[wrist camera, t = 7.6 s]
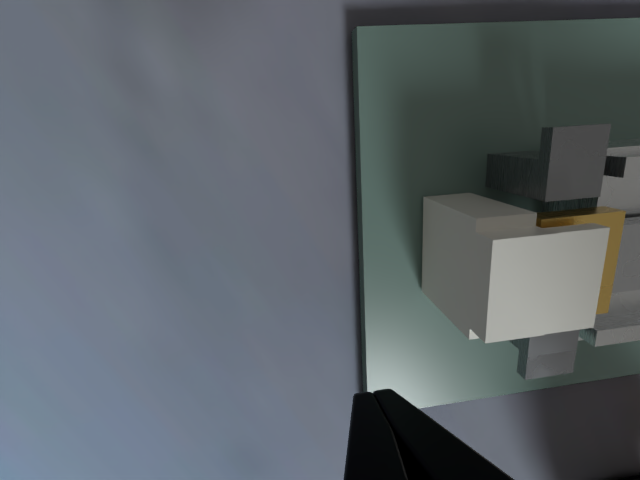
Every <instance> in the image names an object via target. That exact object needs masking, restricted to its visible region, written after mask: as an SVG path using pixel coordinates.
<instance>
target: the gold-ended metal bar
mask: <svg viewBox="0 0 640 480" xmlns="http://www.w3.org/2000/svg"><path fill="white" fill-rule="evenodd" d="M625 214H626V211H624V210H620V209H615V208H610V207H606V206H599V207H589V208H579V209H569V210H559V211H549V212H539V213H537V218H536V226H537V227H540V228H549V227H559V226H568V225H578V224H588V223H596V224H599V225H603V226H607V227H610V231H609V237H608V243H607V250H606V256H605V262H604V268H603V274H602V280H601V286H600V292H599V298H598V304H597V310H596V314H604V313H608V311H609V305H610V299H611V294H612V293H617V292H624V291H632V290H639V289H640V217H630V218H625Z"/></svg>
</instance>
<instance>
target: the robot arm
mask: <svg viewBox="0 0 640 480" xmlns="http://www.w3.org/2000/svg"><path fill="white" fill-rule="evenodd" d="M344 480H514V479H513V478H511V477H510V476H509V475H507V474H506V473H505V472H503V471H502V470H501V469H499V468H498V467H496V466H495V465H494V464H492V463H491V462H490V461H488V460H487V459H486V458H484V457H483V456H482V455H480V454H479V453H478V452H476V451H475V450H473V449H472V448H471V447H469V446H468V445H467V444H465V443H464V442H463V441H461V440H460V439H459V438H457V437H456V436H455V435H453V434H452V433H450V432H449V431H448V430H446V429H445V428H444V427H442V426H441V425H440V424H438V423H437V422H436V421H434V420H433V419H432V418H430V417H429V416H428V415H426V414H425V413H423V412H422V411H421V410H419V409H418V408H417V407H415V406H414V405H413V404H411V403H410V402H409V401H407V400H406V399H405V398H403V397H402V396H400V395H399V394H398V393H396V392H395V391H394V390H392V389H382V390H376V391H374V392H373V393H372V392H362V393H356V394H354V396H353V404H352V413H351V421H350V430H349V438H348V447H347V456H346V464H345V473H344ZM619 480H640V476H635V477H630V478H625V479H619Z"/></svg>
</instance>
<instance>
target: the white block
mask: <svg viewBox="0 0 640 480" xmlns="http://www.w3.org/2000/svg"><path fill="white" fill-rule="evenodd" d="M536 218H537V213H536V212H532V211H529V210H526V209H523V208H519V207H516V206H513V205H509V204H506V203H503V202H499V201H496V200H493V199H489V198H486V197H483V196H480V195H476V194H473V193H460V194H449V195H437V196H426V197H423V247H422V292H423V293H424V294H425V295H426V296H427V297H428V298H429V299H430V300H431V301H432V302H433V303H434V304H435V305H436V307H437V308H438V309H439V310H440V311H441V312H442V313H443V314H444V315H445V316H446V317H447V318H448V319H449V320H450V321H451V322H452V323H453V324H454V325H455V326H456V327H457V328H458V329H459V330H460V331H461V332H462V333H463V334H464V335H465V336H466V337H467V338H468V339H469V340H471V339H478V338H480V339H481V340H482V341H483V342H484V343H492V342H499V341H506V340H514V339H521V338H528V337H535V336H542V335H545V334H551V333H558V332H565V331H573V330H580V329H587V328H594V322H595V316H596V310H597V304H598V298H599V292H600V286H601V280H602V274H603V268H604V262H605V256H606V250H607V243H608V237H609V231H610V227H607V226H603V225H599V224H596V223H588V224H578V225H568V226H559V227H549V228H540V227H537V226H536Z"/></svg>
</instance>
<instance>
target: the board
mask: <svg viewBox="0 0 640 480" xmlns="http://www.w3.org/2000/svg"><path fill="white" fill-rule="evenodd" d="M352 59H353V90H354V122H355V153H356V184H357V215H358V247H359V278H360V309H361V341H362V372H363V392H372V393H373V392H374V391H376V390H382V389H392V390H394V391H395V392H396V393H398V394H399V395H400V396H402V397H403V398H405V399H406V400H407V401H409V402H410V403H411V404H413V405H414V406H415V407H417V408H425V407H431V406H437V405H444V404H450V403H456V402H463V401H469V400H475V399H482V398H488V397H495V396H501V395H507V394H514V393H520V392H526V391H533V390H539V389H545V388H552V387H558V386H564V385H571V384H577V383H584V382H590V381H596V380H603V379H609V378H615V377H622V376H628V375H634V374H640V340H638V341H632V342H625V343H618V344H611V345H604V346H597V347H594V346H593V345H591V344H590V343H588V342H587V341H585V340H580V341H578V344H577V350H576V357H575V363H574V370H573V373H567V374H561V375H554V376H548V377H541V378H535V379H528V380H525V379H523V378H522V377H521V376H520V375H519V374H518V373H517V364H518V354H519V349H518V348H517V347H515V346H514V345H513V344H512V343H511V342H510V341H508V340H506V341H499V342H492V343H484V342H483V341H482V340H481V339H480V338H478V339H471V340H469V339H468V338H467V337H466V336H465V335H464V334H463V333H462V332H461V331H460V330H459V329H458V328H457V327H456V326H455V325H454V324H453V323H452V322H451V321H450V320H449V319H448V318H447V317H446V316H445V315H444V314H443V313H442V312H441V311H440V310H439V309H438V308H437V307H436V305H435V304H434V303H433V302H432V301H431V300H430V299H429V298H428V297H427V296H426V295H425V294H424V293H423V292H422V247H423V197H426V196H437V195H449V194H460V193H473V194H476V195H480V196H483V197H486V198H489V199H493V200H496V201H499V202H503V203H506V204H509V205H513V206H516V207H519V208H523V209H526V210H529V211H532V212H536V213H539V212H541V207H542V201H539V200H535V199H532V198H528V197H524V196H520V195H516V194H512V193H508V192H504V191H500V190H496V189H492V188H488V187H485V183H486V168H487V154H492V153H505V152H519V151H532V150H534V151H540V142H541V133H542V128H544V127H558V126H573V125H588V124H611V129H610V136H609V141H612V140H625V139H639V138H640V18H615V19H582V20H549V21H516V22H483V23H450V24H418V25H385V26H357V27H356V28H355V29H354V30H353V31H352Z"/></svg>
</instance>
